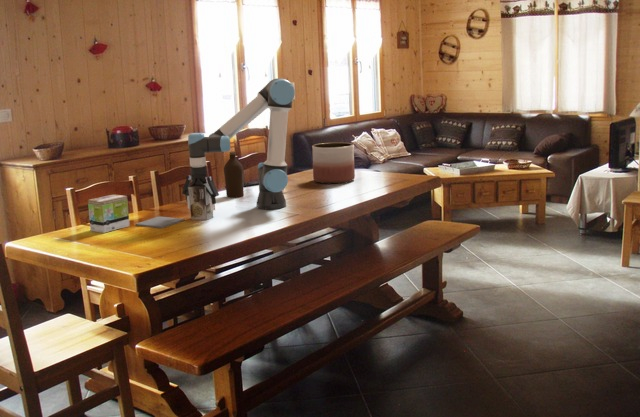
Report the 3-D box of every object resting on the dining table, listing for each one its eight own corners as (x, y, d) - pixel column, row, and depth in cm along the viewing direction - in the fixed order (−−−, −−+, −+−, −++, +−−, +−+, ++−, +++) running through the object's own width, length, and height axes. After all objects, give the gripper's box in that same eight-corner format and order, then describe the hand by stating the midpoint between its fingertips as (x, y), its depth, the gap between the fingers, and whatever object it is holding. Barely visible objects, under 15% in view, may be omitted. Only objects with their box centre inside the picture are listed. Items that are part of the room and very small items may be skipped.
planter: (355, 183, 400) (354, 146, 395) (312, 185, 401) (311, 148, 396) (354, 176, 425) (353, 141, 420) (313, 178, 425) (312, 143, 421)
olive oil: (232, 199, 369) (229, 153, 363) (222, 196, 377) (219, 152, 371) (248, 196, 375) (245, 151, 370) (238, 193, 383) (235, 149, 378)
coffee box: (213, 217, 327) (211, 184, 324) (207, 220, 321) (204, 186, 318) (197, 216, 330) (194, 183, 327) (190, 219, 324) (187, 186, 321)
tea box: (105, 233, 303) (101, 201, 300) (90, 231, 308) (86, 199, 305) (130, 226, 315) (127, 195, 312) (115, 224, 320) (112, 193, 317)
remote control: (224, 188, 403) (224, 185, 402) (270, 181, 421) (270, 178, 421) (230, 190, 397) (230, 187, 396) (276, 183, 415) (276, 180, 415)
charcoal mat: (184, 220, 322) (184, 218, 322) (162, 228, 308) (161, 226, 308) (159, 217, 330) (158, 216, 329) (135, 225, 316) (135, 223, 316)
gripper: (224, 165, 318) (227, 209, 322) (182, 163, 329) (186, 206, 334) (214, 168, 311) (217, 213, 316) (172, 166, 323) (176, 209, 327)
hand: (201, 209), depth 325 cm, fingers open, 13 cm apart
